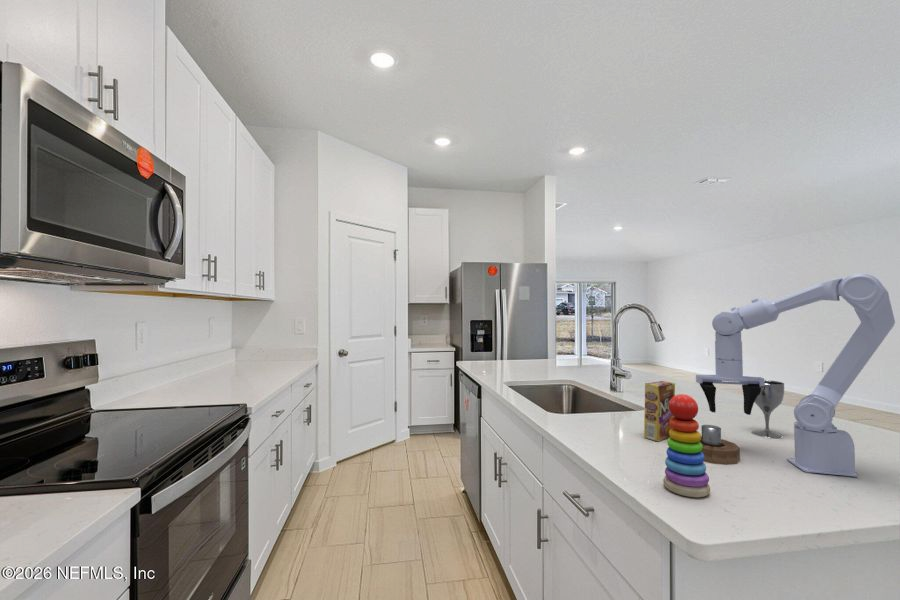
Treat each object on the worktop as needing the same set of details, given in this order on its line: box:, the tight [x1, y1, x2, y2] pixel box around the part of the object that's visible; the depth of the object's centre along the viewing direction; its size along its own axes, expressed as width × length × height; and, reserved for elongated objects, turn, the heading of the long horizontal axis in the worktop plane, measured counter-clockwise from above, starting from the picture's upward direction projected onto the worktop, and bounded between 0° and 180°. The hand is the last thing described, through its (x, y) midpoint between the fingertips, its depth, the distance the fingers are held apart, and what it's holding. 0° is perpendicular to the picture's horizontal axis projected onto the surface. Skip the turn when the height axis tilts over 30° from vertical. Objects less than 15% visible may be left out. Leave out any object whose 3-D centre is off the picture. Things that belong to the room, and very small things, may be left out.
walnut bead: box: [700, 435, 741, 465], centre depth 98 cm, size 11×11×3 cm
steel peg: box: [701, 424, 722, 447], centre depth 98 cm, size 4×4×7 cm
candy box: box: [643, 380, 676, 442], centre depth 112 cm, size 9×4×15 cm, turn 123°
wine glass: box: [751, 379, 785, 439], centre depth 115 cm, size 8×8×15 cm
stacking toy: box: [662, 393, 711, 498], centre depth 79 cm, size 8×8×19 cm
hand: (729, 412), depth 102 cm, fingers open, 7 cm apart
